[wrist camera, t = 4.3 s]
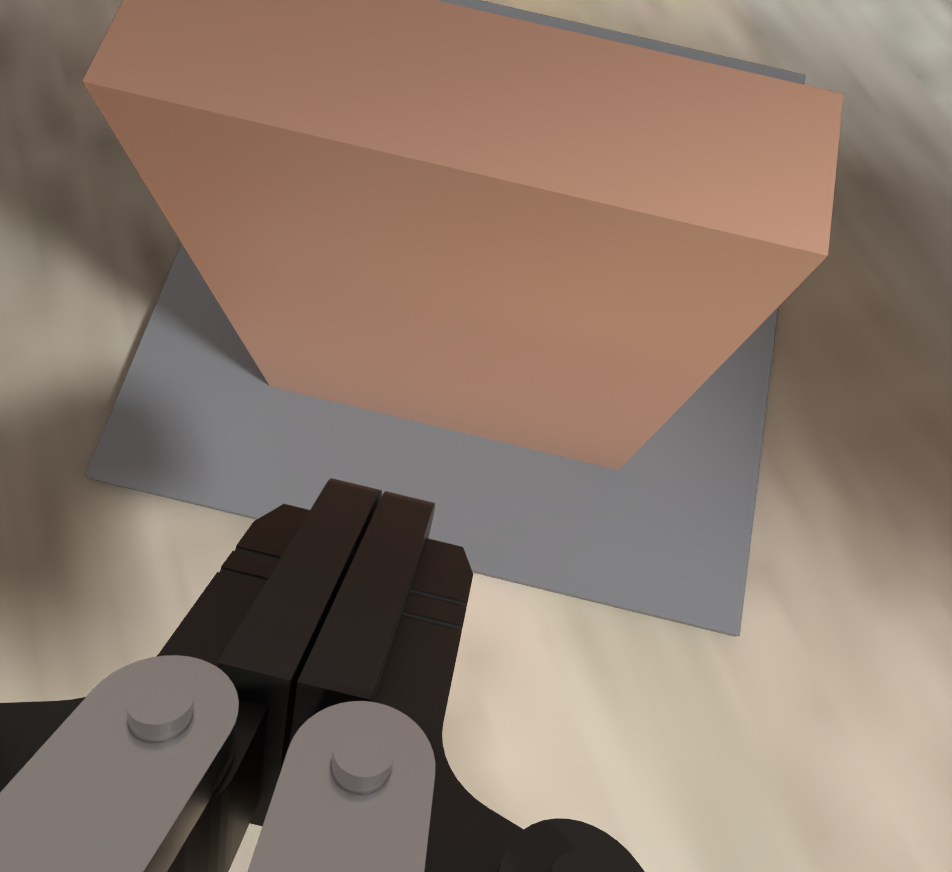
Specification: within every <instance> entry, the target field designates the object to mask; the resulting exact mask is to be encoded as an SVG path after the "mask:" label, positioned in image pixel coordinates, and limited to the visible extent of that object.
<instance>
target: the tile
mask: <svg viewBox="0 0 952 872" xmlns="http://www.w3.org/2000/svg"><path fill="white" fill-rule="evenodd" d="M82 82H83V84H84V85H85V87H86V89H87V90H88V92H89V93H90V95H91V97H92V98H93V100H94V102H95V103H96V105H97V106H98V108H99V110H100V111H101V113H102V115H103V116H104V118H105V119H106V121H107V123H108V124H109V126H110V128H111V129H112V131H113V132H114V134H115V136H116V137H117V139H118V141H119V142H120V144H121V145H122V147H123V149H124V150H125V152H126V154H127V155H128V157H129V158H130V160H131V162H132V163H133V165H134V166H135V168H136V170H137V171H138V173H139V175H140V176H141V178H142V179H143V181H144V183H145V184H146V186H147V188H148V189H149V191H150V192H151V194H152V196H153V197H154V199H155V201H156V202H157V204H158V205H159V207H160V209H161V210H162V212H163V214H164V215H165V217H166V218H167V220H168V222H169V223H170V225H171V227H172V228H173V230H174V231H175V233H176V235H177V236H178V238H179V240H180V241H181V243H182V244H183V246H184V248H185V249H186V251H187V253H188V254H189V256H190V257H191V259H192V261H193V262H194V264H195V265H196V267H197V269H198V270H199V272H200V274H201V275H202V277H203V278H204V280H205V282H206V283H207V285H208V287H209V288H210V290H211V291H212V293H213V295H214V296H215V298H216V300H217V301H218V303H219V304H220V306H221V308H222V309H223V311H224V313H225V314H226V316H227V317H228V319H229V321H230V322H231V324H232V326H233V327H234V329H235V330H236V332H237V334H238V335H239V337H240V339H241V340H242V342H243V343H244V345H245V347H246V348H247V350H248V352H249V353H250V355H251V356H252V358H253V360H254V361H255V363H256V364H257V366H258V368H259V369H260V371H261V373H262V374H263V376H264V377H265V379H266V381H267V382H268V384H269V386H271V387H275V388H279V389H283V390H287V391H292V392H296V393H300V394H304V395H308V396H312V397H316V398H321V399H325V400H329V401H333V402H337V403H341V404H346V405H350V406H354V407H358V408H362V409H366V410H370V411H375V412H379V413H383V414H387V415H391V416H395V417H400V418H404V419H408V420H412V421H416V422H420V423H424V424H429V425H433V426H437V427H441V428H445V429H449V430H454V431H458V432H462V433H466V434H470V435H474V436H478V437H483V438H487V439H491V440H495V441H499V442H503V443H507V444H512V445H516V446H520V447H524V448H528V449H532V450H537V451H541V452H545V453H549V454H553V455H557V456H561V457H566V458H570V459H574V460H578V461H582V462H586V463H591V464H595V465H599V466H603V467H607V468H611V469H615V470H619V469H620V468H621V467H622V466H623V465H624V464H625V463H626V462H627V461H628V460H629V459H630V458H631V457H632V456H633V455H634V454H635V453H636V452H637V451H638V450H639V449H640V448H641V447H642V446H643V445H644V444H645V443H646V442H647V441H648V440H649V439H650V438H651V437H652V435H653V434H654V433H655V432H656V431H657V430H658V429H659V428H660V427H661V426H662V425H663V424H664V423H665V422H666V421H667V420H668V419H669V418H670V417H671V416H672V415H673V414H674V413H675V412H676V411H677V410H678V409H679V408H680V407H681V406H682V405H683V404H684V403H685V402H686V401H687V400H688V399H689V398H690V397H691V396H692V395H693V394H694V392H695V391H696V390H697V389H698V388H699V387H700V386H701V385H702V384H703V383H704V382H705V381H706V380H707V379H708V378H709V377H710V376H711V375H712V374H713V373H714V372H715V371H716V370H717V369H718V368H719V367H720V366H721V365H722V364H723V363H724V362H725V361H726V360H727V359H728V358H729V357H730V356H731V355H732V354H733V353H734V352H735V351H736V349H737V348H738V347H739V346H740V345H741V344H742V343H743V342H744V341H745V340H746V339H747V338H748V337H749V336H750V335H751V334H752V333H753V332H754V331H755V330H756V329H757V328H758V327H759V326H760V325H761V324H762V323H763V322H764V321H765V320H766V319H767V318H768V317H769V316H770V315H771V314H772V313H773V312H774V311H775V310H776V309H777V308H778V306H779V305H780V304H781V303H782V302H783V301H784V300H785V299H786V298H787V297H788V296H789V295H790V294H791V293H792V292H793V291H794V290H795V289H796V288H797V287H798V286H799V285H800V284H801V283H802V282H803V281H804V280H805V279H806V278H807V277H808V276H809V275H810V274H811V273H812V272H813V271H814V270H815V269H816V268H817V267H818V266H819V265H820V263H821V262H822V261H823V260H824V259H825V258H826V257H827V256H828V251H829V240H830V230H831V219H832V209H833V199H834V188H835V178H836V167H837V157H838V146H839V136H840V126H841V115H842V105H843V94H842V93H838V92H834V91H829V90H825V89H821V88H816V87H812V86H808V85H803V84H799V83H794V82H790V81H786V80H781V79H777V78H773V77H768V76H764V75H760V74H755V73H751V72H746V71H742V70H738V69H733V68H729V67H725V66H720V65H716V64H712V63H707V62H703V61H699V60H694V59H690V58H685V57H681V56H677V55H672V54H668V53H664V52H659V51H655V50H651V49H646V48H642V47H638V46H633V45H629V44H624V43H620V42H616V41H611V40H607V39H603V38H598V37H594V36H590V35H585V34H581V33H576V32H572V31H568V30H563V29H559V28H555V27H550V26H546V25H542V24H537V23H533V22H529V21H524V20H520V19H515V18H511V17H507V16H502V15H498V14H494V13H489V12H485V11H481V10H476V9H472V8H468V7H463V6H459V5H454V4H450V3H446V2H441V1H437V0H123V1H122V3H121V5H120V7H119V9H118V11H117V13H116V15H115V17H114V19H113V21H112V23H111V25H110V27H109V29H108V31H107V33H106V35H105V37H104V39H103V41H102V43H101V45H100V47H99V49H98V51H97V53H96V55H95V57H94V59H93V61H92V63H91V65H90V67H89V69H88V71H87V73H86V75H85V77H84V79H83V81H82Z"/></svg>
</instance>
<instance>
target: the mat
mask: <svg viewBox="0 0 952 872" xmlns="http://www.w3.org/2000/svg"><path fill="white" fill-rule="evenodd" d="M437 1H441V2H446V3H450V4H454V5H459V6H463V7H468V8H472V9H476V10H481V11H485V12H489V13H494V14H498V15H502V16H507V17H511V18H515V19H520V20H524V21H529V22H533V23H537V24H542V25H546V26H550V27H555V28H559V29H563V30H568V31H572V32H576V33H581V34H585V35H590V36H594V37H598V38H603V39H607V40H611V41H616V42H620V43H624V44H629V45H633V46H638V47H642V48H646V49H651V50H655V51H659V52H664V53H668V54H672V55H677V56H681V57H685V58H690V59H694V60H699V61H703V62H707V63H712V64H716V65H720V66H725V67H729V68H733V69H738V70H742V71H746V72H751V73H755V74H760V75H764V76H768V77H773V78H777V79H781V80H786V81H790V82H794V83H799V84H803V85H804V84H805V75H804V74H800V73H795V72H791V71H787V70H782V69H778V68H773V67H769V66H765V65H760V64H756V63H752V62H747V61H743V60H739V59H734V58H730V57H725V56H721V55H717V54H712V53H708V52H704V51H699V50H695V49H691V48H686V47H682V46H677V45H673V44H669V43H664V42H660V41H656V40H651V39H647V38H643V37H638V36H634V35H629V34H625V33H621V32H616V31H612V30H608V29H603V28H599V27H595V26H590V25H586V24H581V23H577V22H573V21H568V20H564V19H560V18H555V17H551V16H547V15H542V14H538V13H533V12H529V11H525V10H520V9H516V8H512V7H507V6H503V5H498V4H494V3H490V2H485V1H481V0H437ZM777 313H778V308H777V309H776V310H775V311H774V312H773V313H772V314H771V315H770V316H769V317H768V318H767V319H766V320H765V321H764V322H763V323H762V324H761V325H760V326H759V327H758V328H757V329H756V330H755V331H754V332H753V333H752V334H751V335H750V336H749V337H748V338H747V339H746V340H745V341H744V342H743V343H742V344H741V345H740V346H739V347H738V348H737V349H736V351H735V352H734V353H733V354H732V355H731V356H730V357H729V358H728V359H727V360H726V361H725V362H724V363H723V364H722V365H721V366H720V367H719V368H718V369H717V370H716V371H715V372H714V373H713V374H712V375H711V376H710V377H709V378H708V379H707V380H706V381H705V382H704V383H703V384H702V385H701V386H700V387H699V388H698V389H697V390H696V391H695V392H694V394H693V395H692V396H691V397H690V398H689V399H688V400H687V401H686V402H685V403H684V404H683V405H682V406H681V407H680V408H679V409H678V410H677V411H676V412H675V413H674V414H673V415H672V416H671V417H670V418H669V419H668V420H667V421H666V422H665V423H664V424H663V425H662V426H661V427H660V428H659V429H658V430H657V431H656V432H655V433H654V434H653V435H652V437H651V438H650V439H649V440H648V441H647V442H646V443H645V444H644V445H643V446H642V447H641V448H640V449H639V450H638V451H637V452H636V453H635V454H634V455H633V456H632V457H631V458H630V459H629V460H628V461H627V462H626V463H625V464H624V465H623V466H622V467H621V468H620V469H619V470H615V469H611V468H607V467H603V466H599V465H595V464H591V463H586V462H582V461H578V460H574V459H570V458H566V457H561V456H557V455H553V454H549V453H545V452H541V451H537V450H532V449H528V448H524V447H520V446H516V445H512V444H507V443H503V442H499V441H495V440H491V439H487V438H483V437H478V436H474V435H470V434H466V433H462V432H458V431H454V430H449V429H445V428H441V427H437V426H433V425H429V424H424V423H420V422H416V421H412V420H408V419H404V418H400V417H395V416H391V415H387V414H383V413H379V412H375V411H370V410H366V409H362V408H358V407H354V406H350V405H346V404H341V403H337V402H333V401H329V400H325V399H321V398H316V397H312V396H308V395H304V394H300V393H296V392H292V391H287V390H283V389H279V388H275V387H271V386H269V384H268V382H267V381H266V379H265V377H264V376H263V374H262V373H261V371H260V369H259V368H258V366H257V364H256V363H255V361H254V360H253V358H252V356H251V355H250V353H249V352H248V350H247V348H246V347H245V345H244V343H243V342H242V340H241V339H240V337H239V335H238V334H237V332H236V330H235V329H234V327H233V326H232V324H231V322H230V321H229V319H228V317H227V316H226V314H225V313H224V311H223V309H222V308H221V306H220V304H219V303H218V301H217V300H216V298H215V296H214V295H213V293H212V291H211V290H210V288H209V287H208V285H207V283H206V282H205V280H204V278H203V277H202V275H201V274H200V272H199V270H198V269H197V267H196V265H195V264H194V262H193V261H192V259H191V257H190V256H189V254H188V253H187V251H186V249H185V248H184V246H183V244H182V243H181V246H180V248H179V250H178V253H177V255H176V258H175V260H174V262H173V265H172V267H171V270H170V272H169V274H168V277H167V279H166V282H165V284H164V286H163V289H162V291H161V294H160V296H159V298H158V301H157V303H156V306H155V308H154V310H153V313H152V315H151V318H150V320H149V322H148V325H147V327H146V330H145V332H144V334H143V337H142V339H141V342H140V344H139V346H138V349H137V351H136V354H135V356H134V359H133V361H132V363H131V366H130V368H129V371H128V373H127V375H126V378H125V380H124V383H123V385H122V387H121V390H120V392H119V395H118V397H117V399H116V402H115V404H114V407H113V409H112V411H111V414H110V416H109V419H108V421H107V423H106V426H105V428H104V431H103V433H102V435H101V438H100V440H99V443H98V445H97V447H96V450H95V452H94V455H93V457H92V459H91V462H90V464H89V467H88V469H87V471H86V474H85V476H86V477H88V478H90V479H93V480H97V481H101V482H105V483H110V484H114V485H118V486H122V487H126V488H130V489H134V490H138V491H142V492H146V493H150V494H155V495H159V496H163V497H167V498H171V499H175V500H179V501H183V502H187V503H191V504H195V505H200V506H204V507H208V508H212V509H216V510H220V511H224V512H228V513H232V514H236V515H240V516H245V517H249V518H253V519H259V518H260V517H262V516H264V515H265V514H267V513H269V512H270V511H272V510H274V509H276V508H277V507H279V506H281V505H282V504H287V505H292V506H296V507H300V508H304V509H308V510H310V509H311V508H312V506H313V504H314V503H315V501H316V499H317V498H318V496H319V494H320V493H321V491H322V490H323V488H324V486H325V485H326V483H327V482H328V480H329V479H331V478H333V479H337V480H341V481H346V482H350V483H354V484H358V485H362V486H366V487H370V488H374V489H379V490H382V495H383V493H384V492H385V491H388V492H392V493H396V494H400V495H404V496H408V497H413V498H417V499H421V500H425V501H429V502H433V503H435V510H434V515H433V520H432V525H431V530H430V534H429V539H433V540H437V541H441V542H445V543H449V544H453V545H457V546H461V547H463V548H464V551H465V553H466V556H467V559H468V561H469V564H470V567H471V570H472V572H474V573H478V574H482V575H486V576H490V577H494V578H498V579H502V580H506V581H510V582H515V583H519V584H523V585H527V586H531V587H535V588H539V589H543V590H547V591H551V592H555V593H560V594H564V595H568V596H572V597H576V598H580V599H584V600H588V601H592V602H596V603H600V604H605V605H609V606H613V607H617V608H621V609H625V610H629V611H633V612H637V613H641V614H645V615H649V616H654V617H658V618H662V619H666V620H670V621H674V622H678V623H682V624H686V625H690V626H694V627H699V628H703V629H707V630H711V631H715V632H719V633H723V634H727V635H731V636H740V628H741V620H742V611H743V603H744V594H745V586H746V577H747V569H748V560H749V552H750V543H751V535H752V526H753V518H754V509H755V501H756V492H757V484H758V475H759V467H760V458H761V450H762V441H763V433H764V424H765V416H766V407H767V398H768V390H769V381H770V373H771V364H772V356H773V347H774V339H775V330H776V322H777Z"/></svg>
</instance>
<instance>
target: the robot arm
mask: <svg viewBox="0 0 952 872" xmlns="http://www.w3.org/2000/svg"><path fill="white" fill-rule="evenodd" d="M434 510H435V503H433V502H429V501H425V500H421V499H417V498H413V497H408V496H404V495H400V494H396V493H392V492H388V491H385V492H384V493H383V495H382V490H379V489H374V488H370V487H366V486H362V485H358V484H354V483H350V482H346V481H341V480H337V479H333V478H331V479H329V480H328V482H327V483H326V485H325V486H324V488H323V490H322V491H321V493H320V494H319V496H318V498H317V499H316V501H315V503H314V504H313V506H312V508H311V509H310V510H308V509H304V508H300V507H296V506H292V505H287V504H282V505H281V506H279V507H277V508H276V509H274V510H272V511H270V512H269V513H267V514H265V515H264V516H262V517H260V518H259V519H257V520H255V521H254V522H253V523H252V525H251V526H250V527H249V529H248V530H247V532H246V533H245V534H244V536H243V537H242V539H241V540H240V541H239V543H238V544H237V546H236V549H235V551H232V553H231V554H230V555H229V557H228V558H227V560H226V561H225V562H224V564H223V565H222V566H221V570H220V572H217V573H216V575H215V576H214V578H213V579H212V580H211V582H210V583H209V585H208V586H207V587H206V589H205V590H204V592H203V593H202V594H201V596H200V597H199V599H198V600H197V601H196V603H195V604H194V605H193V607H192V608H191V610H190V611H189V612H188V614H187V615H186V617H185V618H184V619H183V621H182V622H181V624H180V625H179V626H178V628H177V629H176V631H175V632H174V633H173V635H172V636H171V637H170V639H169V640H168V642H167V643H166V644H165V646H164V647H163V649H162V650H161V651H160V653H159V654H158V655H157V657H152V658H148V659H144V660H140V661H137V662H134V663H132V664H129V665H127V666H125V667H123V668H121V669H119V670H117V671H115V672H114V673H112V674H111V675H109V676H108V677H107V678H105V679H104V680H102V681H101V682H100V683H99V684H98V685H97V686H96V687H95V688H94V689H93V690H92V691H91V692H90V693H89V695H88V696H87V697H83V698H78V699H73V700H63V701H45V702H17V703H0V872H228V871H229V869H230V867H231V864H232V862H233V860H234V858H235V855H236V853H237V851H238V848H239V846H240V844H241V841H242V839H243V837H244V834H245V832H246V830H247V828H248V825H249V823H251V824H255V825H259V826H263V827H262V830H261V833H260V836H259V839H258V842H257V845H256V848H255V851H254V854H253V857H252V860H251V863H250V866H249V869H248V872H644V870H643V869H642V867H641V866H640V865H639V863H638V862H637V861H636V860H635V858H634V857H633V856H632V855H631V854H630V852H629V851H628V850H627V849H626V848H624V847H623V846H622V845H621V844H620V843H619V842H618V841H617V840H615V839H614V838H613V837H611V836H610V835H609V834H607V833H606V832H604V831H602V830H600V829H598V828H596V827H594V826H592V825H589V824H587V823H584V822H581V821H576V820H571V819H549V820H543V821H540V822H538V823H535V824H532V825H531V826H529V827H527V828H526V829H524V830H523V829H522V828H520V827H519V826H517V825H515V824H514V823H512V822H510V821H509V820H507V819H505V818H504V817H502V816H501V815H499V814H497V813H496V812H494V811H492V810H491V809H489V808H488V807H486V806H485V805H483V804H482V803H481V802H479V801H478V800H476V799H475V798H474V797H473V796H472V795H471V794H470V793H469V792H468V791H467V790H466V789H465V788H464V787H463V786H462V785H461V783H460V782H459V781H458V780H457V778H456V777H455V775H454V773H453V772H452V770H451V768H450V766H449V764H448V761H447V759H446V757H445V752H444V748H443V742H442V729H443V721H444V716H445V711H446V706H447V701H448V696H449V692H450V687H451V682H452V677H453V672H454V667H455V662H456V657H457V652H458V647H459V642H460V637H461V632H462V627H463V622H464V617H465V612H466V607H467V602H468V597H469V592H470V587H471V583H472V578H473V572H472V570H471V567H470V564H469V561H468V559H467V556H466V553H465V551H464V548H463V547H461V546H457V545H453V544H449V543H445V542H441V541H437V540H433V539H429V534H430V530H431V525H432V520H433V515H434Z"/></svg>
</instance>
